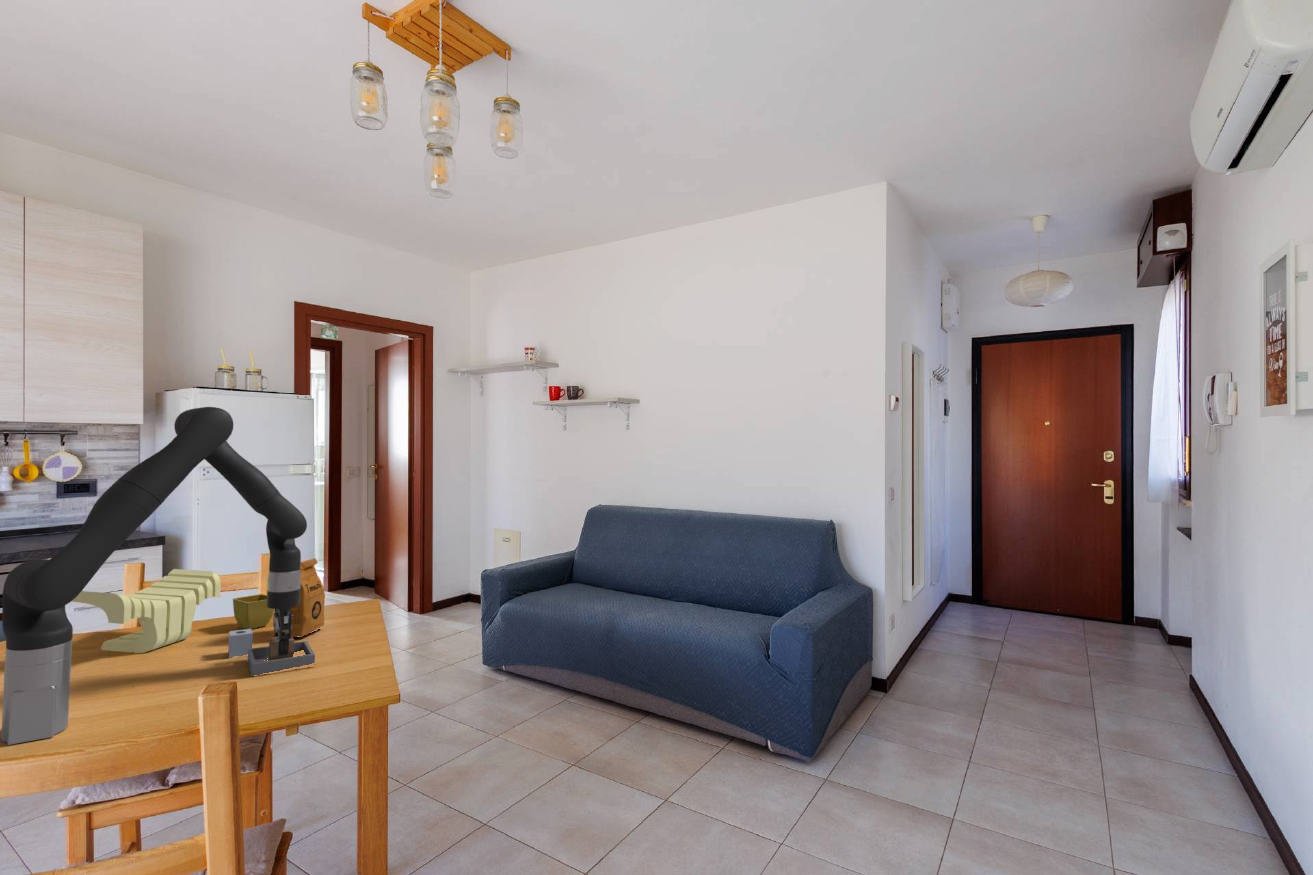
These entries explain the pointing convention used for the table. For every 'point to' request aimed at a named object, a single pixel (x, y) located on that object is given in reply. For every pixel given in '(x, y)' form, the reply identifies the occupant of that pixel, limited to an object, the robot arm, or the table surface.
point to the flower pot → (252, 611)
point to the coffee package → (308, 601)
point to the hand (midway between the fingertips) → (281, 650)
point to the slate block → (240, 642)
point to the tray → (262, 653)
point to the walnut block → (274, 649)
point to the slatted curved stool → (156, 609)
